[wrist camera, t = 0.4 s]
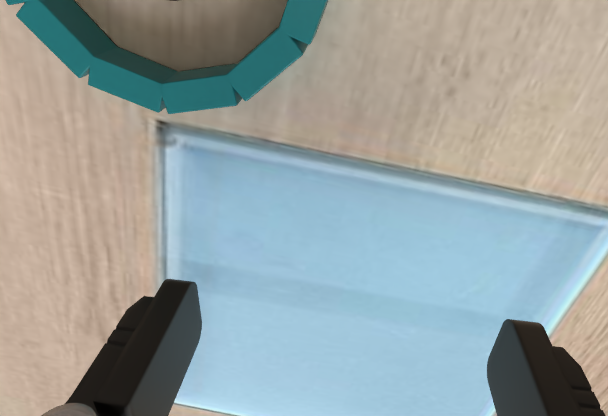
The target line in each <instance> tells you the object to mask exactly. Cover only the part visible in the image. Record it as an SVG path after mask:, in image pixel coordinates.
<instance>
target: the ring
mask: <svg viewBox="0 0 608 416" xmlns="http://www.w3.org/2000/svg"><path fill="white" fill-rule="evenodd" d="M6 2H7V4H8V5H13V4H19V3H24V5H23V6H22V7H21V9H20V10H19V11H18V13H17V14H16V16H17V17H18V18H19V19H20V20H21V21H22V22H23V23H24V24H25V25H26V26H27V27H28V28H29V29H30V30H31V31H32V32H33V33H34V34H35V35H36V36H37V37H38V38H39V39H40V40H41V41H42V42H43V43H44V44H45V45H46V46H47V47H48V48H49V49H50V50H51V51H52V52H53V53H54V54H55V55H56V56H57V57H58V58H59V59H60V60H61V61H62V62H63V63H64V64H65V65H66V66H67V67H68V68H69V69H70V70H71V71H72V72H73V73H74V74H75V75H76V76H77V77H78V78H81V77H84V76H86V75H88V74H89V80H88V85H90V86H93V87H95V88H98V89H100V90H103V91H105V92H108V93H110V94H113V95H115V96H118V97H120V98H123V99H125V100H128V101H130V102H133V103H135V104H138V105H140V106H143V107H145V108H148V109H150V110H153V111H156V112H158V113H159V112H160V111H162V110H163V109H164V108H165V107H166V109H167V112H168V114H173V113H181V112H189V111H197V110H205V109H213V108H221V107H230V106H236V105H238V103H239V102H240V101H241V100H242V98H243V99H244V100H245V101H248V100H249V99H250V98H251V97H252V96H254V95H255V94H256V93H257V92H258V91H260V90H261V89H262V88H263V87H264V86H266V85H267V84H268V83H269V82H271V81H272V80H273V79H274V78H275V77H277V76H278V75H279V74H280V73H281V72H283V71H284V70H285V69H286V68H287V67H289V66H290V65H291V64H292V63H293V62H295V61H296V60H297V59H298V58H300V57H301V56H302V55H303V53H304V51H305V50H306V48H307V46H308V44H311V42H312V40H313V38H314V36H315V34H316V32H317V29H318V26H319V24H320V21H321V18H322V16H323V13H324V10H325V8H326V5H327V2H328V0H288V1H287V4H286V7H285V10H284V13H283V16H282V19H281V22H280V25H279V27H278V28H277V29H276V30H275V31H273V32H272V33H271V34H270V35H269V36H268V37H267V38H266V39H264V40H263V41H262V42H261V43H260V44H259V45H258V46H257V47H255V48H254V49H253V50H252V51H251V52H250V53H249V54H248V55H246V56H245V57H244V58H243V59H242V60H241V61H240V62H239V63H236V64H229V65H222V66H215V67H208V68H201V69H194V70H187V71H180V72H178V71H175V70H173V69H170V68H168V67H165V66H163V65H161V64H158V63H156V62H153V61H151V60H148V59H146V58H143V57H141V56H139V55H136V54H134V53H131V52H129V51H126V50H124V49H121V48H119V47H117V46H116V45H115V44H114V43H113V42H112V41H111V40H110V39H109V38H108V37H107V36H106V35H105V33H104V32H103V31H102V30H101V29H100V28H99V27H98V26H97V25H96V24H95V23H94V22H93V21H92V20H91V19H90V17H89V16H88V15H87V14H86V13H85V12H84V11H83V10H82V9H81V8H80V7H79V6H78V5H77V4H76V3H75V1H74V0H6Z"/></svg>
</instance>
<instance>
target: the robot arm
mask: <svg viewBox="0 0 608 416" xmlns="http://www.w3.org/2000/svg"><path fill="white" fill-rule="evenodd" d="M201 328H202V319H201V312H200V305H199V298H198V290H197V285H196V283H195V282H191V281H182V280H173V279H166V280H165V281H164V282H163V283H162V285H161V287H160V288H159V290H158V292H157V293H156V295H155V297H147V296H144V297H142V298H141V299H140V300H139V301H137V302H136V303H135V304H134V305H132V306H131V307H130V308H129V309H127V311H126V312H125V314H124V315H123V317H122V318H121V320H120V321H119V323H118V325H117V326H116V330H114V331H113V332H112V334H111V335H110V337H109V338H108V341H107V344H105V345H104V346H103V348H102V349H101V351H100V352H99V354H98V355H97V357H96V358H95V360H94V362H93V363H92V365H91V366H90V368H89V369H88V371H87V372H86V374H85V375H84V377H83V379H82V380H81V382H80V383H79V385H78V386H77V388H76V389H75V391H74V392H73V394H72V395H71V397H70V398H69V400H68V401H67V402H66V403H65V404H64V405H61V406H58V407H55V408H53V409H51V410H49V411H48V412H46V413H44V414H43V415H42V416H168V415H169V412H170V410H171V408H172V405H173V403H174V400H175V398H176V396H177V393H178V391H179V388H180V386H181V384H182V381H183V379H184V376H185V374H186V372H187V369H188V367H189V364H190V362H191V360H192V357H193V355H194V352H195V350H196V348H197V345H198V343H199V339H200V335H201ZM487 378H488V383H489V387H490V391H491V394H492V398H493V402H494V405H495V409H496V413H497V416H605V414H604V412H603V410H601V409H600V404H599V402H598V400H597V398H596V396H595V394H594V392H592V391H591V386H590V384H589V382H588V380H587V378H586V376H585V374H584V372H583V370H582V368H581V366H580V365H579V364H578V363H577V362H576V361H575V360H574V359H573V358H572V357H571V356H570V355H569V354H568V352H567V351H566V350H565V349H564V348H563V347H555V346H552V344H551V342H550V340H549V338H548V336H547V333H546V331H545V329H544V327H543V326H542V325H541V324H540V323H536V322H528V321H519V320H510V319H507V320H505V321H504V323H503V325H502V327H501V329H500V332H499V334H498V337H497V339H496V341H495V344H494V346H493V349H492V351H491V353H490V356H489V358H488V364H487Z"/></svg>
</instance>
